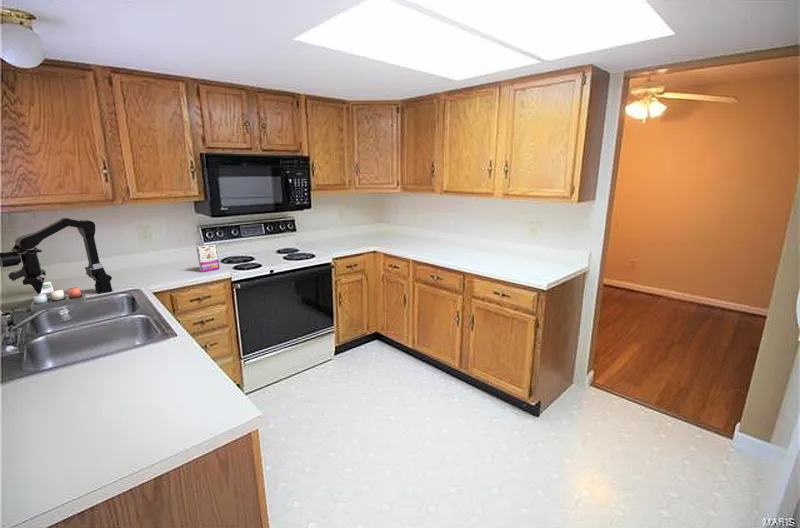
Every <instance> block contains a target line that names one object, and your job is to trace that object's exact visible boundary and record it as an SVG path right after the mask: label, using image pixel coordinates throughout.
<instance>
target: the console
mask: <svg viewBox="0 0 800 528" xmlns="http://www.w3.org/2000/svg"><path fill="white" fill-rule="evenodd" d="M64 296H65V298H64V299H61V300H53V299H52V297H51V298H47V300H48V303H41V304H35V302H34V300H32V303H31V304H30V306H29V309H30V311H31V312H36V311H43V310H49V309H53V308H60V307H67V306H71V305H72V306H73V305H79V304H84V303H86V299H87V296H86V292H81V296H79V297H73V298H70V296H69V294H68V295H64Z"/></svg>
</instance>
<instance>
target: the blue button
mask: <svg viewBox="0 0 800 528" xmlns="http://www.w3.org/2000/svg"><path fill="white" fill-rule="evenodd" d="M32 298H33V301H34V302H35V304H41V303H48V300H47V299H48V298H47V296H46V294H40V295H34V296H33V297H32Z"/></svg>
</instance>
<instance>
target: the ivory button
mask: <svg viewBox="0 0 800 528" xmlns="http://www.w3.org/2000/svg"><path fill="white" fill-rule="evenodd" d="M51 296H52V297H51V298H52V299H53V300H61V299H64V298H65V296H66V295H65V293H64V290H63V289H55V290H54V291H52V292H51Z"/></svg>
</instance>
